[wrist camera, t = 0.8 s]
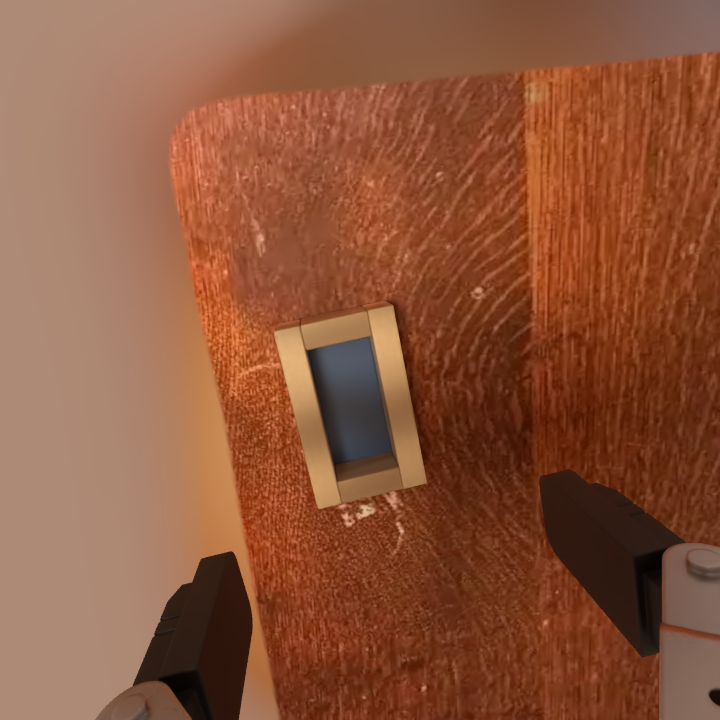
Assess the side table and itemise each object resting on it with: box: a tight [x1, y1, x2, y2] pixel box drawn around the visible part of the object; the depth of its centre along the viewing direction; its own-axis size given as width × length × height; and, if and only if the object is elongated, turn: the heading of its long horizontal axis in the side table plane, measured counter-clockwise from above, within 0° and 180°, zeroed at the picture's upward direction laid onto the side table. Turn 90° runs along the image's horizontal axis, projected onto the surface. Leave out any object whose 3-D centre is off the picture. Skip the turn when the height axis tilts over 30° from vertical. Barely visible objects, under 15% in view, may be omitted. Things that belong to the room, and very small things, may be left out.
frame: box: [274, 301, 427, 509], centre depth 24 cm, size 9×6×2 cm, turn 12°
